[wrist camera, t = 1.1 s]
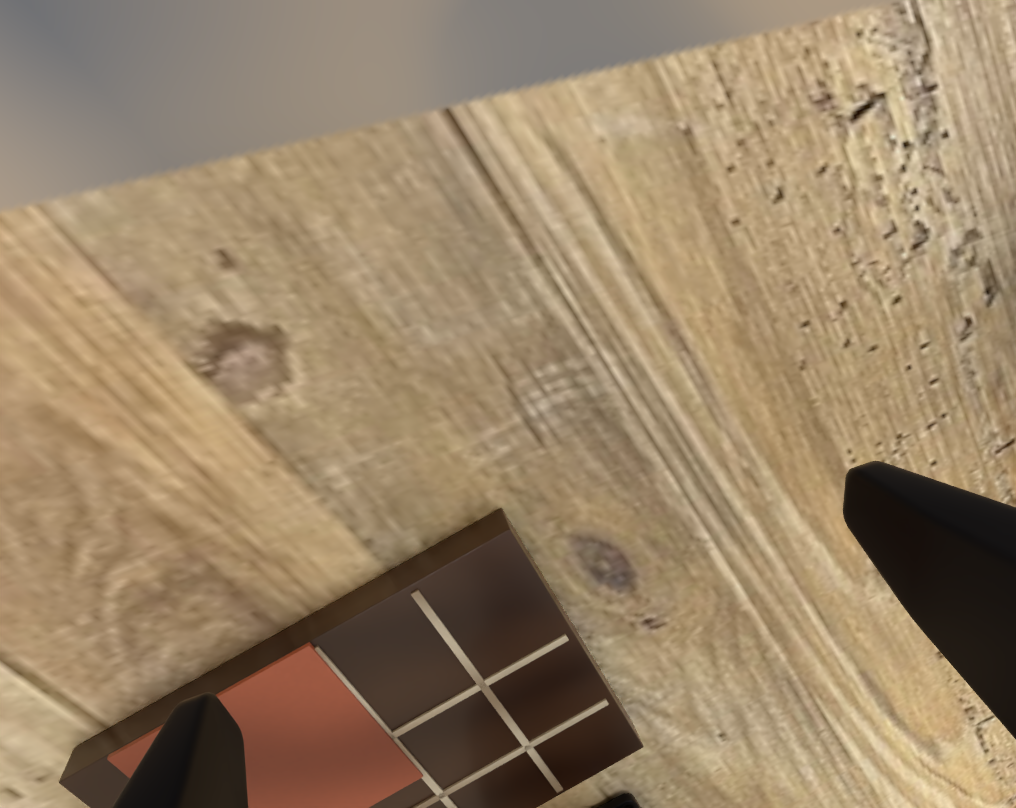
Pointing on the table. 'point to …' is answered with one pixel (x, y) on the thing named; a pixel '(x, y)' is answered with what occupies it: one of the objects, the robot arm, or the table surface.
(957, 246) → the table surface
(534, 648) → the board
